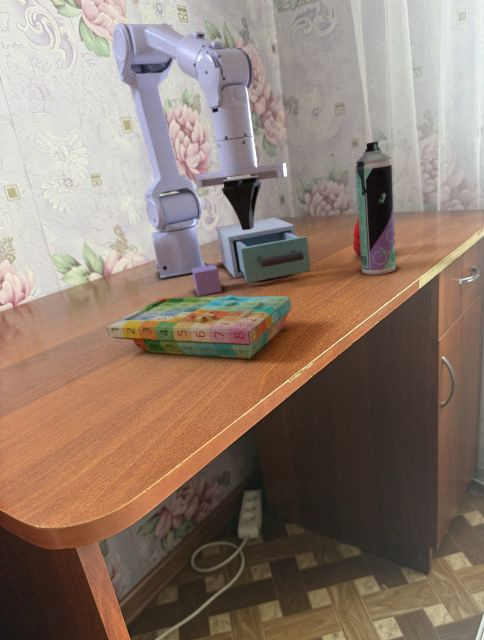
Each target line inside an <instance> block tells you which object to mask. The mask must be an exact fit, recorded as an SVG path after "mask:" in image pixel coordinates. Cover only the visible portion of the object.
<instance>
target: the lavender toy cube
mask: <svg viewBox="0 0 484 640" xmlns="http://www.w3.org/2000/svg"><path fill="white" fill-rule="evenodd" d="M191 274H192V277H193V282H194V287H195V291H196V294H197V297H202V296H205V295H210V294H216V293H222V285H221V280H220V274H219V269H218V267H217V266H216V265H215V263H214V264H209V265H205V266H203V267H197V268H192V273H191Z"/></svg>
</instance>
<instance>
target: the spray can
mask: <svg viewBox="0 0 484 640" xmlns="http://www.w3.org/2000/svg"><path fill="white" fill-rule="evenodd" d="M391 159H392V157H391V156H389V155H387V154H386V153H384V152H383V149H381V147H379V141H372V142H367V143H366V149H364V151H363V155H362V156H360V157H359V159H358V160H356V161H355V164H356V165H355V181H356V196H357V211H358V213H357V214H358V217H359V231H360V247H361V257H360V261H361V273H362V274H365V275H384V274H389V273H391V272H394V271H395V270H396V247H395V245H396V242H395V243H394V239H395V236H394V231H395V220H394V219H395V217H394V190H393V162H392V161H391Z"/></svg>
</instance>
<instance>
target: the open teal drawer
mask: <svg viewBox="0 0 484 640" xmlns="http://www.w3.org/2000/svg"><path fill="white" fill-rule="evenodd" d="M233 244H234V250H235V257H236V263H237V267H238V268H239V269H240V270H241V271H242V272H243V273H244V276H243V277H244V282H245V283H246V284H249V283H254V282H259V281H264V280H268V279H269V280H270V279H274V278H280V277H284V276H290V275H295V274H300V273H304V272H305V273H306V272H310V271H311V263H310V253H309V243H308V236H304V235H303V236H298V235H296V236H295V235H293V234H291V233H288V232H286V231H284V232H278V233H273V234H267V235H262V236H256V237H250V238H245V239H239V240H234V241H233Z"/></svg>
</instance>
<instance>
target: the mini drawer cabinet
mask: <svg viewBox="0 0 484 640" xmlns="http://www.w3.org/2000/svg"><path fill="white" fill-rule="evenodd" d="M215 229H216V230H215V231H216V235H217V240H218V241H217V242H218V246H219V252H220V258H221V264H222V265H223V267H225V269H226V270H227V271H228V272H229V273H230V274H231V275H232V276H233V278H234V279H237V278H243V277H245V276H244V273H243V272H242V271H241V270H240V269H239V268H238V267H237V263H236V257H235V250H234V244H233V241H234V240H239V239H245V238H250V237H256V236H262V235H267V234H273V233H278V232H284V231H286V232H288V233H291V234H293V235H295V236H297V234H296V233H297V232H296V225H295V224H293V223H290V222H287V221H285V220H282V219H279V218H277V217H270V218H263V219H257V220H254V227H253V228H252V229H250V230H242V227H241V224H240V223H236V224H235V223H234V224H230V225H224V226H218V227H216V228H215Z"/></svg>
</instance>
